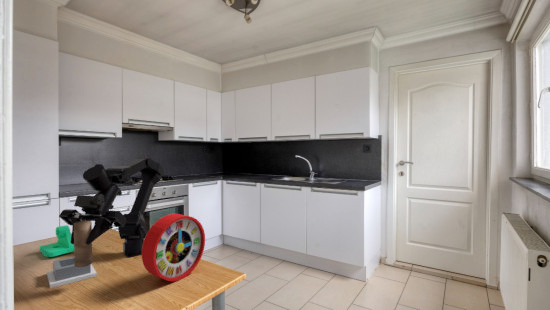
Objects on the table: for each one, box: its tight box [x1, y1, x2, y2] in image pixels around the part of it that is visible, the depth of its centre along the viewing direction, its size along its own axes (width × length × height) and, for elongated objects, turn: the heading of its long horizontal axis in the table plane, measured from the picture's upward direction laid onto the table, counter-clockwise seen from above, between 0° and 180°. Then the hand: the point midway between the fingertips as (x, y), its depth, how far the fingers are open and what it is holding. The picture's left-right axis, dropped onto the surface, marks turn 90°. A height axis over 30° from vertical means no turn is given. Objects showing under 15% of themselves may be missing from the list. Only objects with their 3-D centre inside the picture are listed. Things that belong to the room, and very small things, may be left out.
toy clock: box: [141, 213, 206, 282], centre depth 92 cm, size 20×6×20 cm, turn 147°
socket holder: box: [46, 256, 98, 289], centre depth 93 cm, size 12×12×4 cm
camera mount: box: [39, 224, 74, 258], centre depth 112 cm, size 12×8×10 cm, turn 56°
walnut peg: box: [73, 221, 93, 267], centre depth 85 cm, size 4×4×12 cm
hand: (79, 243), depth 84 cm, fingers closed on walnut peg, 4 cm apart
